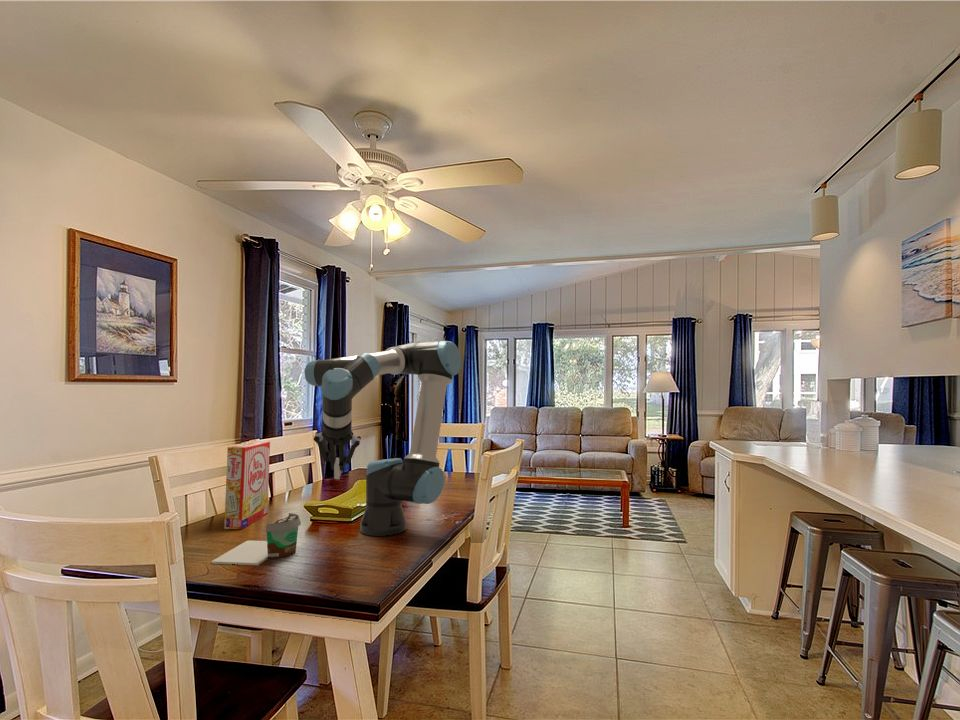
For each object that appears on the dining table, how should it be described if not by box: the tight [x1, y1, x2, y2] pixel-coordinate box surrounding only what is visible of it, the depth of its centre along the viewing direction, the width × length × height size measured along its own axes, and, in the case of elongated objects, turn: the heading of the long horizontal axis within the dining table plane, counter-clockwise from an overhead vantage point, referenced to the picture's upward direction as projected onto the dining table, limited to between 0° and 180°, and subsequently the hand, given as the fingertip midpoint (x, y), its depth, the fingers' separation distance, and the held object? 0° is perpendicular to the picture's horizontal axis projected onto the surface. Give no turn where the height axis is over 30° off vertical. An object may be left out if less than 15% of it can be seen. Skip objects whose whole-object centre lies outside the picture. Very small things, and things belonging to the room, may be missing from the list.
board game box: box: [223, 440, 271, 530], centre depth 175 cm, size 20×6×27 cm, turn 0°
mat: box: [210, 540, 269, 566], centre depth 142 cm, size 13×18×1 cm
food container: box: [265, 513, 302, 560], centre depth 142 cm, size 12×6×10 cm, turn 171°
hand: (337, 475), depth 149 cm, fingers closed
